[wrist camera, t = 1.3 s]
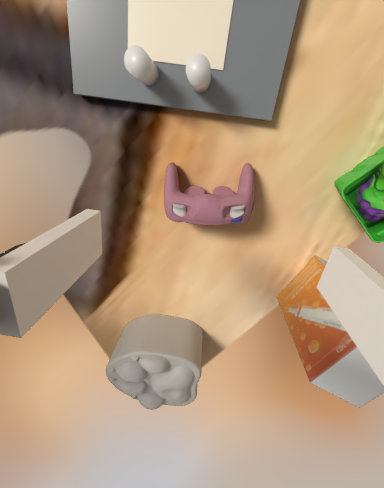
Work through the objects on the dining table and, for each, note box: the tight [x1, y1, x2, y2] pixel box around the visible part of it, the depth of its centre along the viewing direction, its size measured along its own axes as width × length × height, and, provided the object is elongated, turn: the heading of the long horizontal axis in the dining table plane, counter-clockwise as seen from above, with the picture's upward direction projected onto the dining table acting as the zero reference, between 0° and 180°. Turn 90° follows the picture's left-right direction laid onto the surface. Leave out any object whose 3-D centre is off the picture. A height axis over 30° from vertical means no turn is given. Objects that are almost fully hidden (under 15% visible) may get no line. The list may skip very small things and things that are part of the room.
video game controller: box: [164, 162, 255, 225], centre depth 25 cm, size 10×5×7 cm, turn 90°
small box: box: [277, 256, 384, 408], centre depth 26 cm, size 8×6×13 cm
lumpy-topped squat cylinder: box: [106, 314, 203, 410], centre depth 35 cm, size 10×13×9 cm
